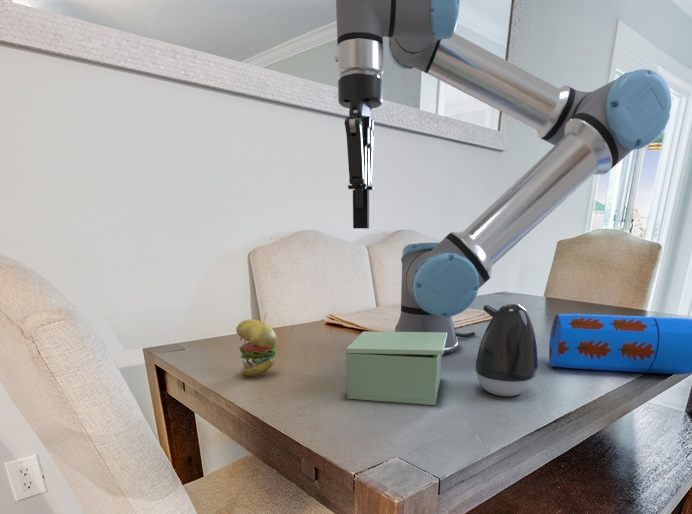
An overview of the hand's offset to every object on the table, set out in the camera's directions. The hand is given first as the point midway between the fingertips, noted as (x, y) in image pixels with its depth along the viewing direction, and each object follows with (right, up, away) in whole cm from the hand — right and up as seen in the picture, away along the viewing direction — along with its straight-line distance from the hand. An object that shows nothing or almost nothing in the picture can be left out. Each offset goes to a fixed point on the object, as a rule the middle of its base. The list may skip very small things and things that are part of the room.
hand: (361, 228), depth 86 cm
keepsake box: (+6, -30, -4) cm, 31 cm away
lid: (+7, -22, -7) cm, 25 cm away
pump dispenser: (+25, -31, -5) cm, 40 cm away
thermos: (+39, -20, +7) cm, 44 cm away
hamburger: (-20, -27, +3) cm, 34 cm away
